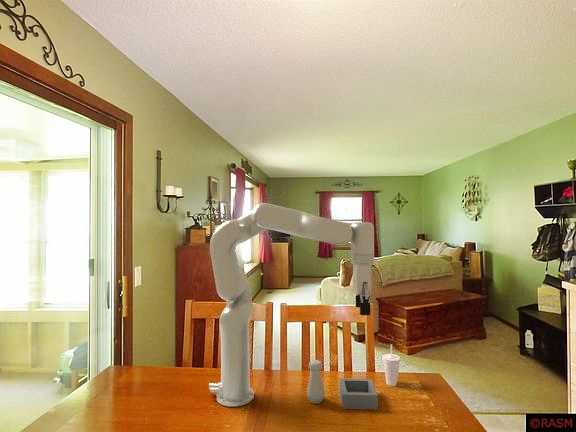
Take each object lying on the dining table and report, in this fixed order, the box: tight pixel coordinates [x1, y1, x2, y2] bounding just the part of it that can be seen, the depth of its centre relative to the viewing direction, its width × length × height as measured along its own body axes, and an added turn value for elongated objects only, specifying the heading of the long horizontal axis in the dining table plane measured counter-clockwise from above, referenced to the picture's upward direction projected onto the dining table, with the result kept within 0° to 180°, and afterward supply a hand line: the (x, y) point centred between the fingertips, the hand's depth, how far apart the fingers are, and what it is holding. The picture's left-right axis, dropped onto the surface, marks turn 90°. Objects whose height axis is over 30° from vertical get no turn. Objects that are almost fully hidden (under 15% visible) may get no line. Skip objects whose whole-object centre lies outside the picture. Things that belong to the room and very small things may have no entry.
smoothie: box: [381, 343, 401, 387], centre depth 126 cm, size 6×6×14 cm
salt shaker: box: [306, 359, 325, 405], centre depth 115 cm, size 6×6×13 cm
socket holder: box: [338, 377, 379, 410], centre depth 115 cm, size 11×11×4 cm
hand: (362, 310), depth 115 cm, fingers open, 9 cm apart
